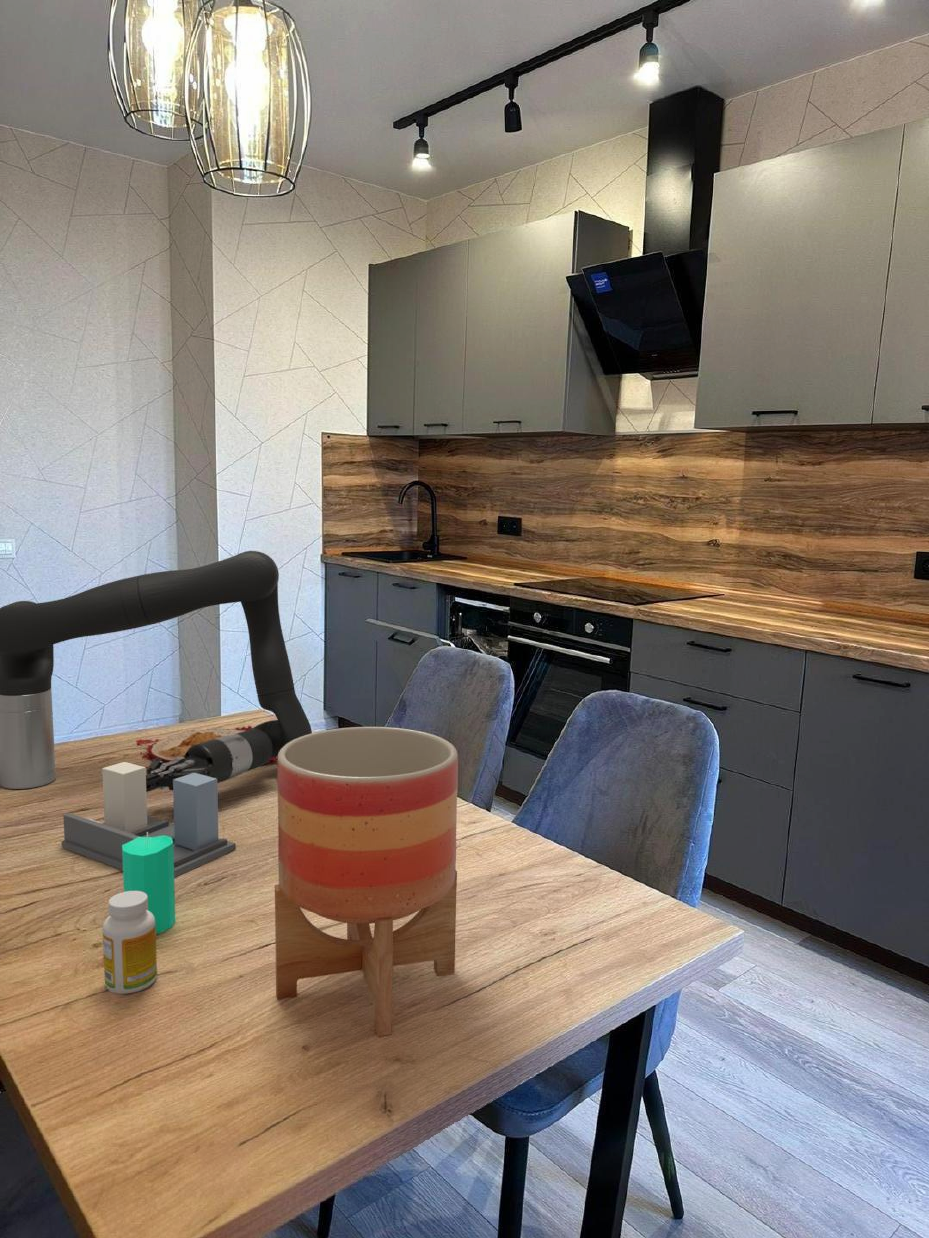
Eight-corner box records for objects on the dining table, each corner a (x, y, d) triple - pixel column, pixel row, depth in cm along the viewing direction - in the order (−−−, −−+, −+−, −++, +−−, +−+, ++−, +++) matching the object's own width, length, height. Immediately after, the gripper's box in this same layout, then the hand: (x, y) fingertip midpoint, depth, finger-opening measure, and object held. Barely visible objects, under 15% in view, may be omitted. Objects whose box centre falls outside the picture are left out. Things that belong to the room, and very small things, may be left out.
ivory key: (104, 830, 133) (102, 768, 131) (126, 822, 136) (124, 761, 135) (125, 837, 130) (123, 774, 129) (147, 828, 134) (145, 767, 132)
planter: (479, 1021, 88) (485, 771, 85) (283, 1053, 83) (281, 786, 79) (431, 928, 107) (435, 720, 103) (269, 948, 102) (267, 729, 98)
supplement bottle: (165, 969, 97) (163, 888, 95) (143, 997, 91) (140, 911, 90) (120, 966, 97) (116, 885, 96) (95, 993, 92) (91, 908, 90)
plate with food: (251, 734, 195) (251, 719, 194) (280, 765, 171) (279, 747, 171) (136, 747, 184) (135, 731, 184) (150, 782, 160) (149, 763, 160)
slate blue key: (174, 843, 128) (172, 779, 127) (195, 835, 132) (194, 772, 130) (197, 851, 126) (196, 786, 124) (218, 842, 129) (217, 778, 128)
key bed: (61, 847, 129) (60, 815, 128) (139, 818, 141) (138, 789, 140) (159, 883, 118) (158, 849, 117) (235, 849, 130) (235, 818, 129)
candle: (185, 916, 109) (183, 826, 107) (154, 939, 103) (151, 844, 101) (146, 908, 111) (143, 820, 109) (113, 930, 105) (110, 837, 103)
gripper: (192, 732, 152) (107, 756, 137) (246, 745, 145) (163, 771, 130) (193, 773, 153) (109, 801, 138) (247, 787, 146) (164, 818, 131)
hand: (135, 787), depth 134 cm, fingers closed
